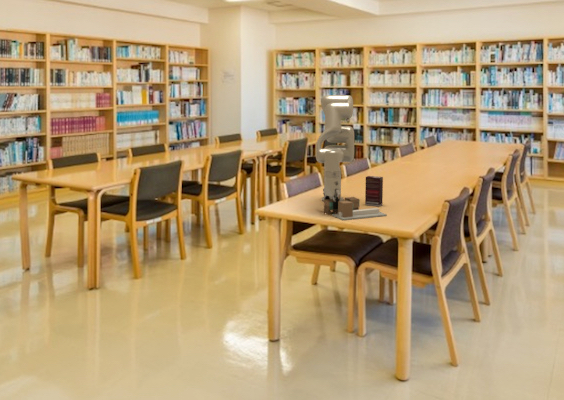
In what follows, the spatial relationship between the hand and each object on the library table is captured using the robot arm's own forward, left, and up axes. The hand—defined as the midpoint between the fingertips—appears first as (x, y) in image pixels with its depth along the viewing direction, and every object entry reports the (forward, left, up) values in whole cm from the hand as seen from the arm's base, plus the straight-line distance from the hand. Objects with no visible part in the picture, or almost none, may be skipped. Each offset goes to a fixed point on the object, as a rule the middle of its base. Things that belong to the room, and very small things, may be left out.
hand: (331, 207), depth 301 cm
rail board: (+11, +10, -3) cm, 15 cm away
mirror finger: (0, +12, -3) cm, 13 cm away
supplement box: (-9, +31, -3) cm, 33 cm away
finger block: (0, 0, -3) cm, 3 cm away
